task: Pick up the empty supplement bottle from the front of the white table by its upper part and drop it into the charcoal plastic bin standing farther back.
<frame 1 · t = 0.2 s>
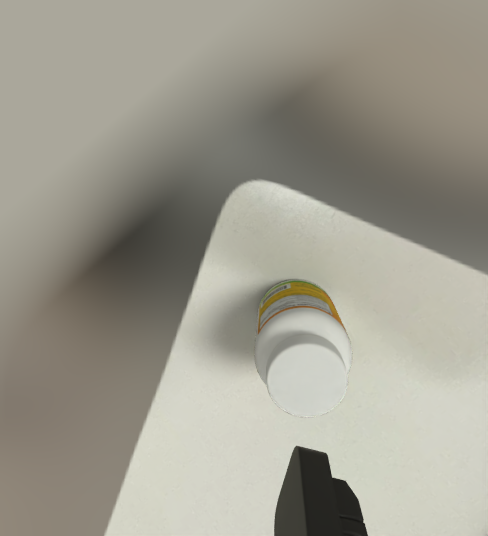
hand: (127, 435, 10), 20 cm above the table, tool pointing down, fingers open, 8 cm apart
supplement bottle: (295, 313, 31), on the table
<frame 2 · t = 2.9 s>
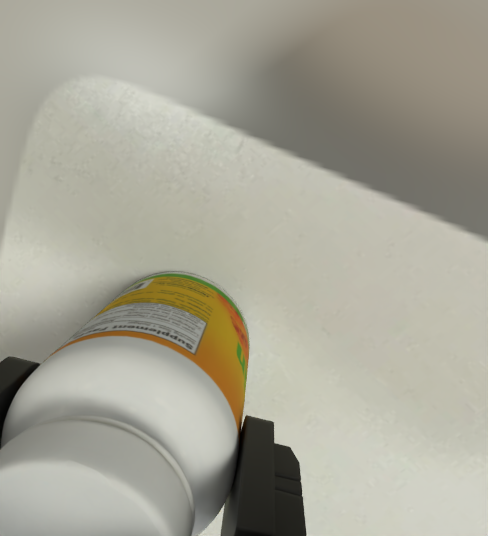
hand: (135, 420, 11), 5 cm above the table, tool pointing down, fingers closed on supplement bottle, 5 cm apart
supplement bottle: (180, 335, 17), on the table, touching gripper
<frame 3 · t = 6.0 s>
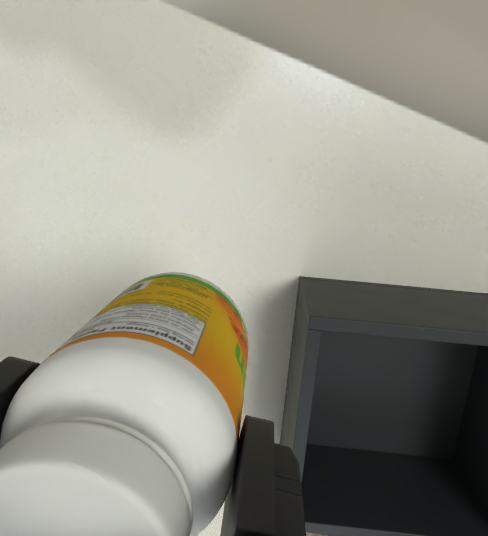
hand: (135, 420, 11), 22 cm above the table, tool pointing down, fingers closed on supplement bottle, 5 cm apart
supplement bottle: (179, 335, 17), point 16 cm above the table, touching gripper
bin: (381, 374, 34), on the table
when the fingers open (13 cm above the table, at t = 9.4 s): supplement bottle drops 7 cm, resting on bin.
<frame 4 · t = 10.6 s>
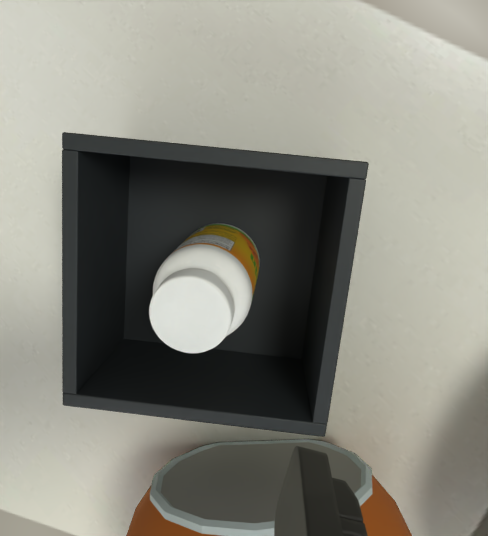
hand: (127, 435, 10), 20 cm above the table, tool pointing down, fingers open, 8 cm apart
supplement bottle: (221, 259, 30), point 1 cm above the table, touching bin
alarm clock: (267, 494, 35), on the table
bin: (220, 259, 30), on the table
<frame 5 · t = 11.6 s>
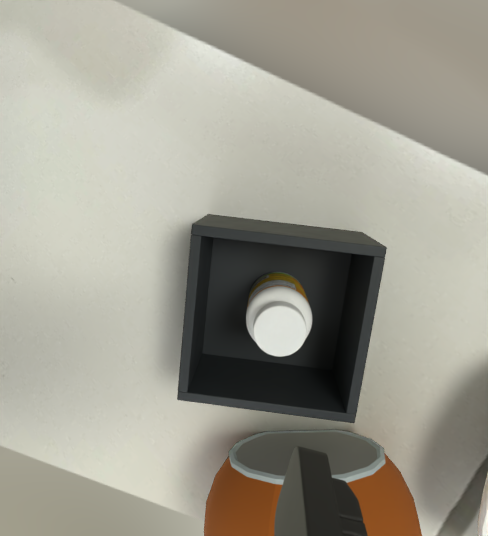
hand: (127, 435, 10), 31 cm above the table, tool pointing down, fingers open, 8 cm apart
supplement bottle: (276, 297, 42), resting on bin
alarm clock: (303, 472, 46), on the table
bin: (275, 297, 42), on the table
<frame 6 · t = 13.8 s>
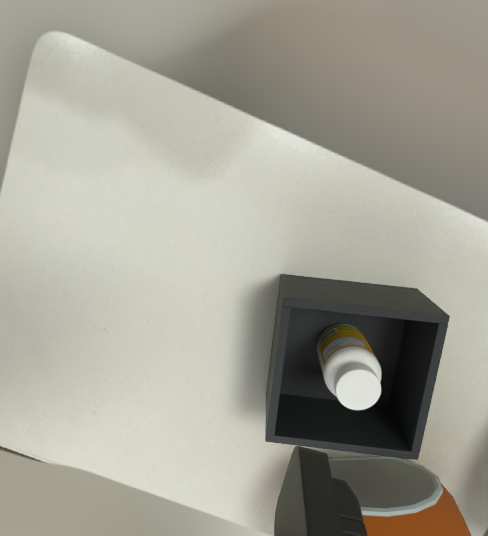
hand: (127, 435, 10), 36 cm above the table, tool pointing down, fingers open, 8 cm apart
supplement bottle: (340, 344, 48), resting on bin
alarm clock: (359, 492, 52), on the table
bin: (338, 344, 48), on the table
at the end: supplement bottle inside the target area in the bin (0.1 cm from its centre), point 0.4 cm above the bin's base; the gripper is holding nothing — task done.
